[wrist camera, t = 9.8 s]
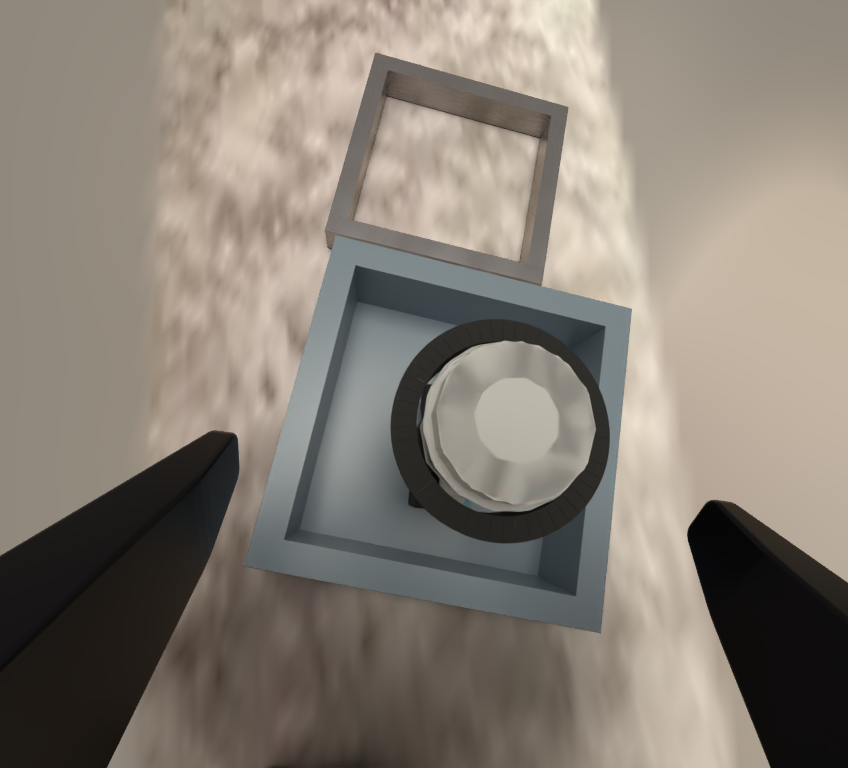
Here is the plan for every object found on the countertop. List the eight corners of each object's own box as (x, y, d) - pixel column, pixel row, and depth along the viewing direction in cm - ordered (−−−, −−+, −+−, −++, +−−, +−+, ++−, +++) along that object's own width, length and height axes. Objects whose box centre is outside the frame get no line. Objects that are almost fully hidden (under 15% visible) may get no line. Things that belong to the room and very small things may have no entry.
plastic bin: (553, 603, 19) (600, 633, 15) (269, 548, 18) (243, 566, 14) (584, 339, 22) (631, 308, 18) (340, 280, 21) (335, 235, 17)
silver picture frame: (530, 297, 22) (541, 284, 21) (327, 247, 21) (324, 230, 20) (556, 129, 24) (568, 107, 23) (374, 79, 24) (375, 52, 22)
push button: (390, 354, 20) (414, 234, 10) (507, 370, 21) (632, 269, 11) (371, 509, 19) (379, 537, 9) (497, 521, 19) (634, 560, 9)
